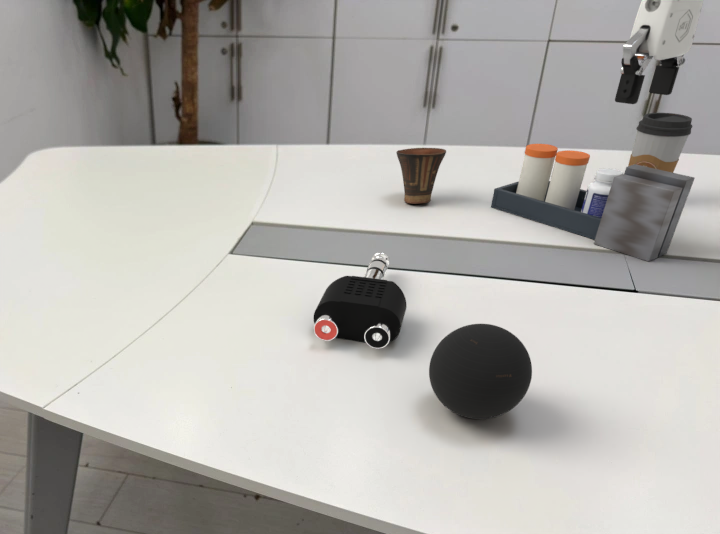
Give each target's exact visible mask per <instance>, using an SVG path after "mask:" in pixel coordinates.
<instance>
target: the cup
mask: <svg viewBox="0 0 720 534" xmlns="http://www.w3.org/2000/svg"><path fill="white" fill-rule="evenodd" d="M446 154H447V149H444V148H440V147H411V148H404V149H399V150H397V151H396V157H397V159H398V162H399V165H400V169H401V176H402V180H403V181H402V183H403V190H404V199H403V201H404V203H406V204H414V205H417V204H418V205H419V204H427V203H429V202H431V199H432V193H433V190H434V185H435V182H436V178H437V175H438V172H439V169H440V167H441V164H442V162H443V160H444V158H445V157H446Z"/></svg>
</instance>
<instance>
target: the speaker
mask: <svg viewBox="0 0 720 534" xmlns="http://www.w3.org/2000/svg"><path fill="white" fill-rule="evenodd" d="M428 377H429V383H430V386H431V389H432V391H433V393H434V395H435V396H436V398H437V400H439V402H440V403H441V404H442V405H443V406H444V407H445V408H446V409H448V410H449V411H451V412H452V413H454V414H456V415H458V416H461V417H463V418H466V419H467V418H468V419H471V420H472V419H473V420H487V419H493V418H497V417H500V416H503V415H504V414H506V413H508V412H510V411H511V410H513V409H514V408H515V407H517V406H518V405H519V403H521V401H522V400H523V399H524V398H525V396H526V394H527V392H528V390H529V389H530V385H531V382H532V378H533V365H532V360H531V357H530V354H529V351H528V350H527V348H526V346H525V345H524V343H523V342H522V341H521V340H520V339H519V338H518V337H517V335H515V334H513V333H512V332H511V331H509V330H508V329H505V328H503V327H501V326H498V325H494V324H491V323H473V324H467V325H464V326H461V327H458V328H456V329H454V330H452V331H451V332H450V333H448V334H447V335H446V336H444V338H442V339H441V340H440V342H439V343H438V344H437V346H436V347H435V349H434V350H433V352H432V355H431V358H430V361H429V367H428Z"/></svg>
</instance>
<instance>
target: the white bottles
mask: <svg viewBox="0 0 720 534" xmlns="http://www.w3.org/2000/svg"><path fill="white" fill-rule="evenodd" d="M558 150H559V149H558V147H557V146H555V145H552V144H547V143H530V144H527V145H526V146H525V150H524V156H523V160H522V166H521V170H520V173H519V179H518V181H519V183H518V187H517V191H516V194H520V195H523V196H527V197H530V198H534V199H537V200H541V201H544V199H545V195H546V191H547V187H548V183H549V181H550V184H549V188H548V192H547V196H546V200H545V202H548V203H551V204H555V205H558V206H562V207H565V208H569V209H572V210H574V209H575V206H576V202H577V199H578V195H579V191H580V189H582V188H581V187H582V184H583V182H584V181H583V180H584V177H585V174H586V170H587V166H588V164H589V162H590V159H591V155H590V154H589V153H587V152H584V151H581V150H571V149H570V150H569V149H568V150H560V151H558Z"/></svg>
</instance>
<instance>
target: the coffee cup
mask: <svg viewBox="0 0 720 534" xmlns="http://www.w3.org/2000/svg"><path fill="white" fill-rule="evenodd" d="M692 123H693V118H692V117H690V116H688V115H683V114H681V113H672V112H650V113H645V114H644V115H643V116H642V119H641V120H639V121H638V125H637V127H636V134H635V138H634V141H633V146H632V150H631V154H630V157H629V160H628V165H627V167H628V166H631V165H634V164H636V165H640V166H645V167H649V168H654V169H658V170H663V171H667V172H672V173H675V172H674V171H675V170H676V167H677V165H678V163H679V160H680V156H681V154H682V151H683V149H684V147H685V145H686V142H687V140H688V138H689V136H690V135H691V134H692V129H693V124H692Z"/></svg>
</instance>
